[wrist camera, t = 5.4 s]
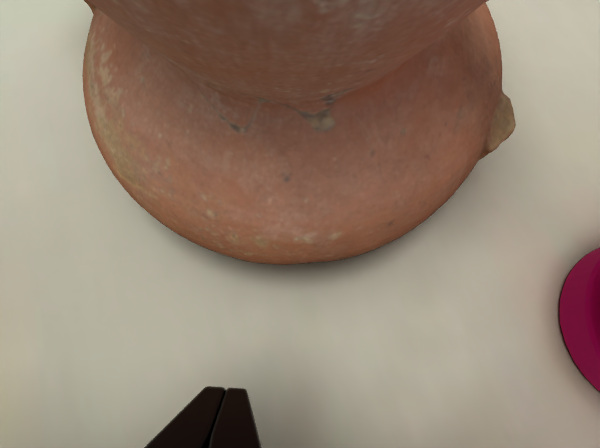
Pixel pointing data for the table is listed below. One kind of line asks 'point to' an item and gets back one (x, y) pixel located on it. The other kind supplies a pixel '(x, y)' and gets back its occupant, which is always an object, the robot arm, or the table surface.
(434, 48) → the ceramic jug
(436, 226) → the table surface
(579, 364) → the pepper mill
